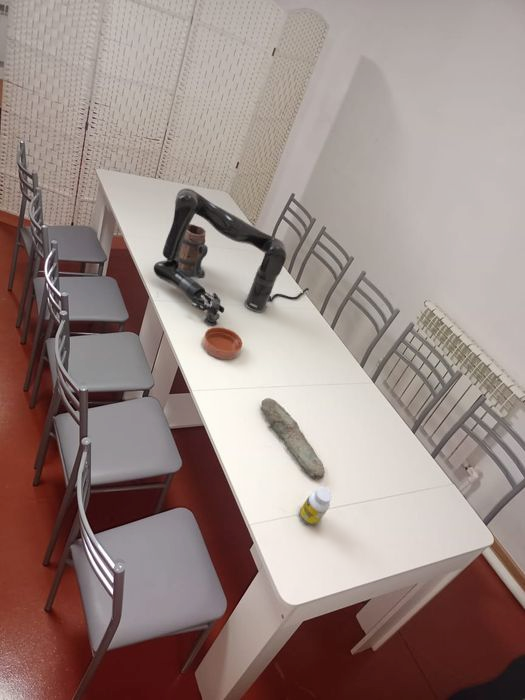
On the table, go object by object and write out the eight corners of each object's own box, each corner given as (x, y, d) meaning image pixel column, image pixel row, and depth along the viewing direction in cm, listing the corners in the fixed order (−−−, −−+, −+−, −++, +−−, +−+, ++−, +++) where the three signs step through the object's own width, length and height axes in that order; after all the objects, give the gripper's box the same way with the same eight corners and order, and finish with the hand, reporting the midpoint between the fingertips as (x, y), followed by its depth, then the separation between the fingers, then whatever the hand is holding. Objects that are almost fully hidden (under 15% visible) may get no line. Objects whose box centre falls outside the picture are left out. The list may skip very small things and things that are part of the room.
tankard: (161, 257, 231) (169, 219, 220) (191, 256, 242) (201, 220, 230) (184, 286, 219) (194, 247, 207) (215, 283, 229) (226, 246, 218)
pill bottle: (297, 505, 147) (312, 482, 140) (317, 508, 149) (332, 486, 142) (300, 524, 142) (315, 502, 135) (320, 527, 144) (336, 505, 137)
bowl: (220, 331, 202) (223, 323, 199) (246, 352, 197) (249, 344, 194) (194, 342, 191) (197, 333, 188) (221, 365, 185) (224, 357, 183)
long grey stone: (305, 487, 155) (327, 479, 161) (313, 478, 152) (334, 470, 158) (252, 404, 173) (273, 400, 179) (258, 394, 170) (279, 391, 176)
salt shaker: (215, 327, 202) (222, 304, 195) (202, 322, 202) (209, 299, 195) (219, 320, 207) (226, 298, 200) (206, 315, 207) (213, 292, 200)
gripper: (181, 285, 198) (210, 309, 192) (205, 278, 208) (233, 300, 202) (177, 300, 202) (205, 324, 196) (201, 292, 213) (228, 314, 207)
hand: (219, 312), depth 199 cm, fingers closed on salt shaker, 3 cm apart
